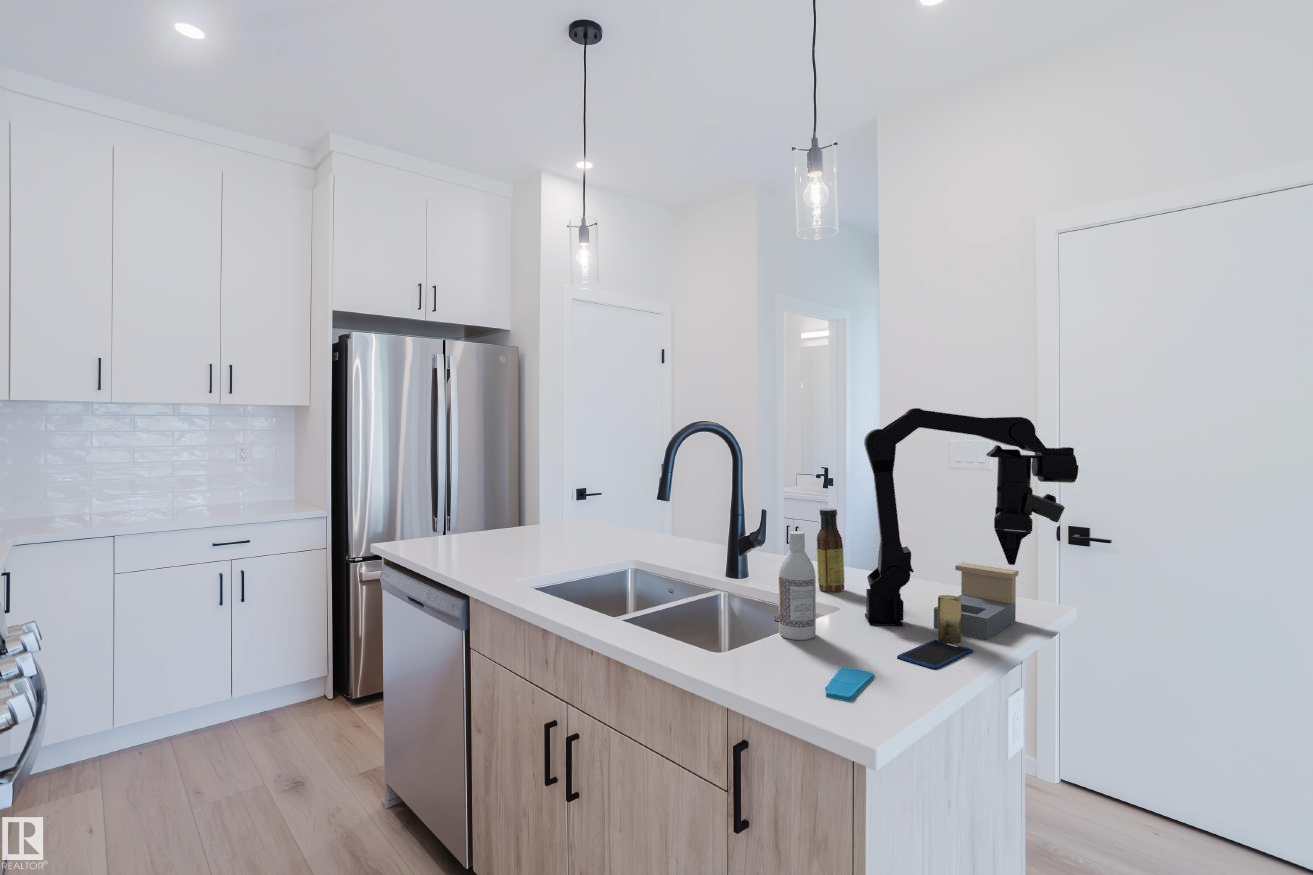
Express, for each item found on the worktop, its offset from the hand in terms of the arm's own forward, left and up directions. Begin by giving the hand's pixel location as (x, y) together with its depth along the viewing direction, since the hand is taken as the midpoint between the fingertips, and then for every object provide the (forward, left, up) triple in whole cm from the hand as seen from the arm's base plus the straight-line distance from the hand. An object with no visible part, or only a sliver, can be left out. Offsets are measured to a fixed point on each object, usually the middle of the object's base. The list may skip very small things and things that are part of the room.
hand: (1011, 560), depth 128 cm
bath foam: (-42, -9, -14) cm, 45 cm away
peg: (-14, -8, -14) cm, 21 cm away
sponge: (-36, -32, -15) cm, 50 cm away
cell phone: (-18, -16, -14) cm, 28 cm away
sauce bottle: (-32, +26, -14) cm, 44 cm away
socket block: (-6, +2, -14) cm, 15 cm away
